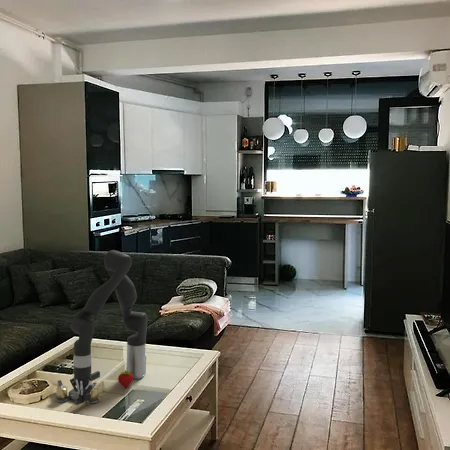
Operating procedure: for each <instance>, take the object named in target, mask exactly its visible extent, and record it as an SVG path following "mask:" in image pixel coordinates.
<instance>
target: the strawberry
mask: <svg viewBox="0 0 450 450" xmlns="http://www.w3.org/2000/svg"><path fill="white" fill-rule="evenodd" d="M126 370H127V369H125V370H124V371H122V372H120V374H119V375H118V377H117V380H118V383H119V384H120V386H122V387H123V389H128V388H129V386H130V385H131V383H132V382H133V380H134V379H133V378H134V377H133V374H132V373H130V372H129V371H126Z"/></svg>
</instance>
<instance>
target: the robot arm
mask: <svg viewBox="0 0 450 450" xmlns="http://www.w3.org/2000/svg"><path fill="white" fill-rule="evenodd" d="M103 262H104V267H105V270H106V272H107V274H108V276H109V279H108V280H107V281H105V282H104V283H103V284H102V285H100V286H99V287H98V288H96V289H95V290H94V291H93V292H92V293H91V295H90V296H89V298H88V300H87V301H86V303H85V306H84V307H83V308H82V309H80V311H79V312H78V313H77V314H76V315H75V317H73V319H72V321H71V325H70V326H71V327H70V328H71V331H72V332H73V333H75V334H77V335H78V339H76V340H75V341H74V342H73V343H74V344H73V360H72V361H73V362H72V363H73V367H72V368H73V373H72V374H73V377H72V378H70V380H69V382H70V384H71V386H72V387H73V388H72V389H74V390H75V392H78V394H79V402H80V403H81V404H83V403H85V402H87V401H86V394H88V393H90V391H91V390H92V389H93V388H94V387H96V383H93V381H92V382H91V378H90V375H91V374H92V341H93V337H94V333H95V325H94V323H93V322H92V321H91V319H92V318H93V317H97V316H99V315H100V313H101V312H102V309H103V308H104V306H105V304H106V302H107V300H108V299H109V297H110V296H111V295H112V293H113V292H114V291H115V295H116V299H117V302H118V303H119V307H120V310H121V313H122V320H123V324H124V327H125V328H126V329H127V330H128V331H129V330H130V331H134V332H135V331H136V332H137V331H138V332H137V333H136V334H132V335H130V336H128V337H127V340H126V369H125V370H126V371H129V372H130V373H132V374H133V377H134V378H133V380H139V379H143V378H144V377H145V375H146V373H147V372H146V371H147V356H146V347H147V345H146V344H147V343H146V342H147V332H148V331H147V329H148V315H147V313H146V312H143V311H142V312H141V311H140V312H139V311H133V310H132V307H133V306H134V305H135V304H136V302H137V299H138V294H137V290H136V287H135V284H134V282H133V281H132V280H131V279H130V278H129V276H128V275H127V274H128V272H129V270H130V269H131V267H132V264H133V263H132V262H133V261H132V257H131V256H130V255H128V254H126V253H123V252H121V251H119V250H115V249H112V250H109V251H107V252H106V254H105V255H104V259H103ZM143 375H144V376H143ZM88 384H89V385H88Z"/></svg>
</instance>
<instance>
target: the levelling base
mask: <svg viewBox="0 0 450 450" xmlns="http://www.w3.org/2000/svg"><path fill="white" fill-rule="evenodd" d="M78 396H79V394H78V392H75V390H74V388H72V389H70V390H69V391H68V392H67V399H65V400H57V396H56V397H55V403H58V404H64V403H67V402H68V401H72V402H74V398H76V397H78ZM99 402H100V398H99V397H98V400H96V401H89V400H87V401H86V403H87V404H89V405H96V404H98V403H99Z"/></svg>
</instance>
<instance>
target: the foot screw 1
mask: <svg viewBox="0 0 450 450" xmlns="http://www.w3.org/2000/svg"><path fill="white" fill-rule="evenodd" d="M67 396H68V387H67V386H66V385H63V382H62V380H61V379H60V380H57V387H56V397H57V400H65V399H67Z"/></svg>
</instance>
